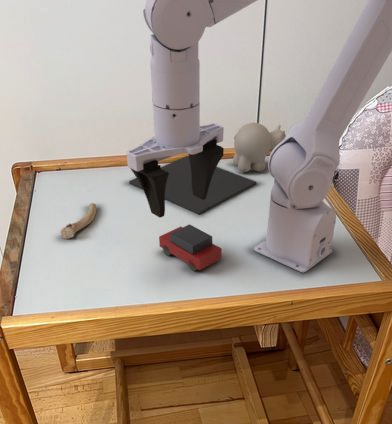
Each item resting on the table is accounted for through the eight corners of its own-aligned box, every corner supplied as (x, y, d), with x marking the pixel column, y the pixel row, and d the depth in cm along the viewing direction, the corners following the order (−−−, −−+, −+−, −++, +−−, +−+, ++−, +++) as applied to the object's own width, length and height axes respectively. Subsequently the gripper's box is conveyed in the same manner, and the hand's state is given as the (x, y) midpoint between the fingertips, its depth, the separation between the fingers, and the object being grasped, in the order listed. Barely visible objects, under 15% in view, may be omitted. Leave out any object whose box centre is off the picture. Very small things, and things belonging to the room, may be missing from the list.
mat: (256, 184, 98) (256, 181, 98) (199, 214, 90) (199, 212, 89) (187, 158, 107) (187, 155, 107) (129, 183, 99) (129, 181, 98)
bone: (104, 208, 92) (103, 197, 90) (75, 241, 84) (72, 229, 82) (91, 206, 92) (89, 195, 91) (60, 239, 84) (58, 227, 83)
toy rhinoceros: (296, 172, 102) (302, 128, 96) (236, 176, 101) (239, 131, 95) (286, 157, 107) (291, 114, 102) (229, 161, 106) (231, 118, 100)
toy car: (199, 275, 76) (221, 263, 79) (199, 251, 74) (221, 240, 76) (159, 251, 81) (181, 240, 83) (158, 228, 79) (180, 218, 81)
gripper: (148, 125, 57) (155, 234, 67) (241, 97, 65) (236, 199, 74) (112, 109, 61) (123, 214, 71) (203, 84, 68) (203, 182, 78)
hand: (179, 205), depth 72 cm, fingers open, 7 cm apart
